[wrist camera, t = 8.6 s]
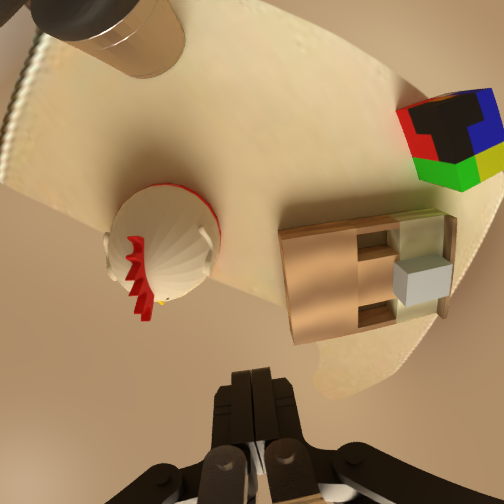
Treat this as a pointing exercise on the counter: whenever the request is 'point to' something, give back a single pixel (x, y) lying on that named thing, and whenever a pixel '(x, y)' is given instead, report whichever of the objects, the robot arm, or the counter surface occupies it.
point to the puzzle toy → (455, 138)
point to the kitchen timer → (162, 244)
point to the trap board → (358, 272)
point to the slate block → (421, 279)
